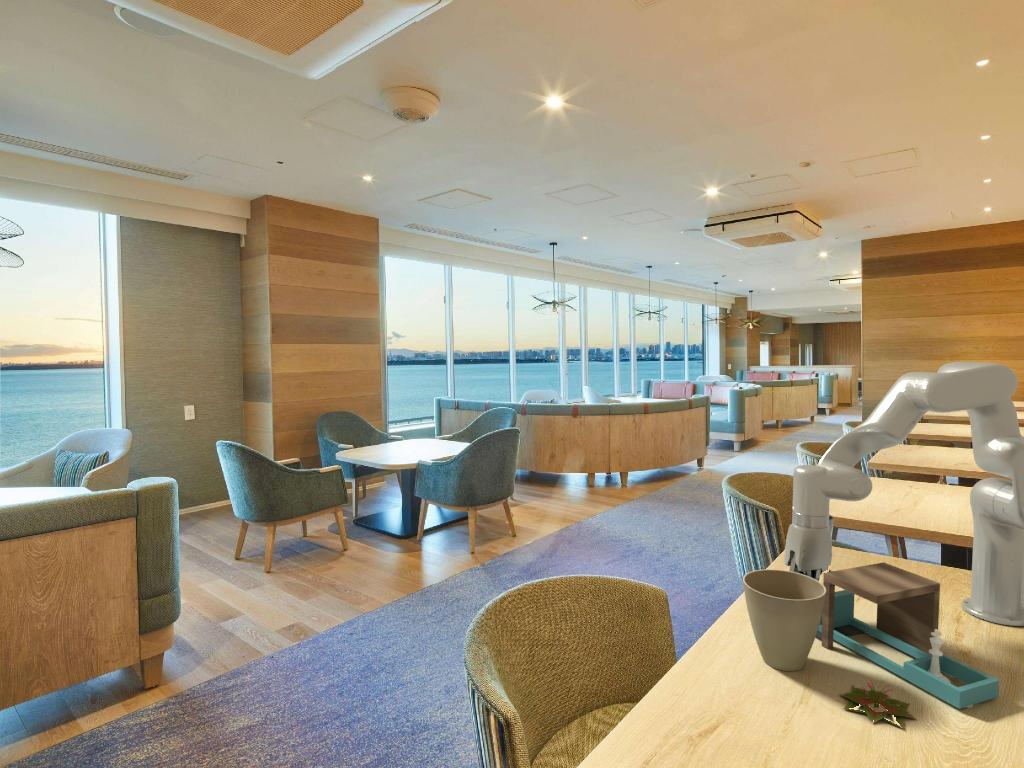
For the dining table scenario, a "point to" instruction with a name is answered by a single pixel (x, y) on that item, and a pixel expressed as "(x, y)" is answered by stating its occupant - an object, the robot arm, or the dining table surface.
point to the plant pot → (784, 615)
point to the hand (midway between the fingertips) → (808, 597)
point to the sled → (915, 661)
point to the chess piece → (936, 655)
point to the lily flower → (877, 704)
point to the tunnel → (886, 603)
